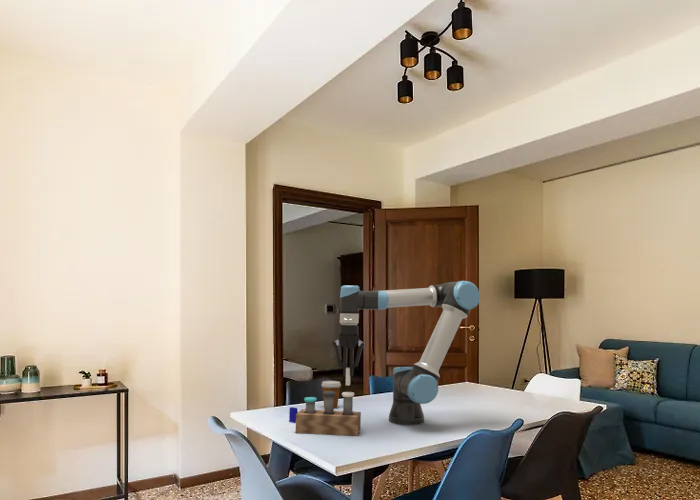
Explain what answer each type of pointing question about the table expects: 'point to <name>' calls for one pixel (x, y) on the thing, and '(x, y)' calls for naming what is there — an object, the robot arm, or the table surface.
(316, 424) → the socket block
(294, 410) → the blue u-shaped block
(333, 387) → the disposable coffee cup
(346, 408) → the plug grey
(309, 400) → the plug teal
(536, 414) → the table surface
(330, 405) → the plug black
